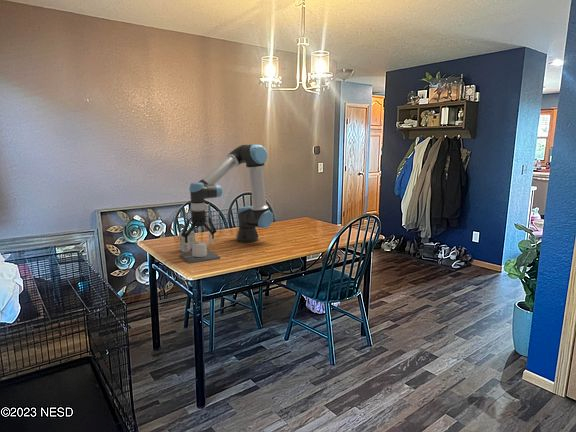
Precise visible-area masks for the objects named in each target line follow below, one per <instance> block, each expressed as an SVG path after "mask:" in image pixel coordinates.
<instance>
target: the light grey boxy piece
mask: <svg viewBox="0 0 576 432" xmlns="http://www.w3.org/2000/svg"><path fill="white" fill-rule="evenodd" d="M207 250H208V244H207V242H206V241H195V242H194V243H192V251H191V252H192V256H194V257H204V256H206V255H207Z"/></svg>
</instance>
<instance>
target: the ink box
mask: <svg viewBox="0 0 576 432" xmlns="http://www.w3.org/2000/svg"><path fill="white" fill-rule="evenodd" d="M187 231H188V230H187ZM187 231H186V232H187ZM181 234H182V231H181V232H179V233H178V237H179V251H180V252H182V253H189V252H192V243H194V242H196V232H195V230H192V231H191V233H190V234H189V236H188V237H189V246H190V249H188V248H187V243H185V237H182V236H181ZM185 234H186V233H185Z"/></svg>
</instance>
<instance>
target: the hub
mask: <svg viewBox="0 0 576 432" xmlns="http://www.w3.org/2000/svg"><path fill="white" fill-rule="evenodd" d="M179 257H180V258H181V259H183V261H185V262H187V263H188V264H196V263H202V262H207V261H214V260H221V256H220V255H219V254H217V253H215V252H213V251H212V250H210V249H207V255H206V256H204V257H194V256H192V251H189V252H182V253H179Z"/></svg>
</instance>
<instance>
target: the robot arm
mask: <svg viewBox="0 0 576 432" xmlns="http://www.w3.org/2000/svg"><path fill="white" fill-rule="evenodd" d="M267 159H268V152H267V149H266V148H265V147H264V146H262V145H261V144H256V143H255V144H241V145H239V146H237V147H236V148H234V149H233V150H232V151H230V152H229V153H227V155H226V158H225V159H223V160H222V161H220V163H219V164H218V165H216V166H215V167H214V168H213V169H212V170H211V171H209V172H208V174H206V175H204V176H203V178H201V179H200V180H199V181H198V182H190V184H189V193H190V195H189V196H190V210H191V211H190V213H191V214H190V215H191V219H188V218H187V219H186V220H185V225H184V227H183V229H182V231H181V232H182V234H181V236H182V237H185V243H187V248H188V249H190V246H189V237H188V236H189V234H190V233H191V231H194V228H197V227H204V228H205V229H206V230H207V231H208V232H209V233H208V234H209V236H208V238H209V245H210V246H213V240H214V238H215V236H214V235H215V234H216V233H217V229H216V228H215V226H214V224H213V222H212V219H211V217H209V216H208V217H206V210H205V209H206V206H205V199H214V198H215V199H217V198H220V197H221V196H222V195H223V188H222V186H221V185H220V184H218V182H219V181H220V180H222V178H224V177H225V176H226V175H227V174H228V173H229V172H230V171H231V170H233V169H234V168H235V167H236V168H237V167H238V166H240V165H242V164H245V166H246V168H247V169H248V172H249V180H250V182H249V183H250V189H251V200H252V205H249V206H241V207H239V208H238V212H237V215H238V218H237V219H238V231H237V234H236V237H235V238H236V241H237V242H239V243H241V242H242V243H253V242H257V241H259V234H258V231H257V228H259V229H268V228H270V227H271V225H272V224H273V221H274V213H273V212H272V211H270V207H269V205H268V204H267V200H266V189H265V180H264V171H263V170H264V169H263V168H264V167H265V163H266V161H267ZM206 222H208V224H209V226H208V224H207V223H206ZM190 224H191V225H190ZM189 226H190V227H189ZM186 231H187V232H186ZM185 233H186V234H185Z"/></svg>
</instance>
